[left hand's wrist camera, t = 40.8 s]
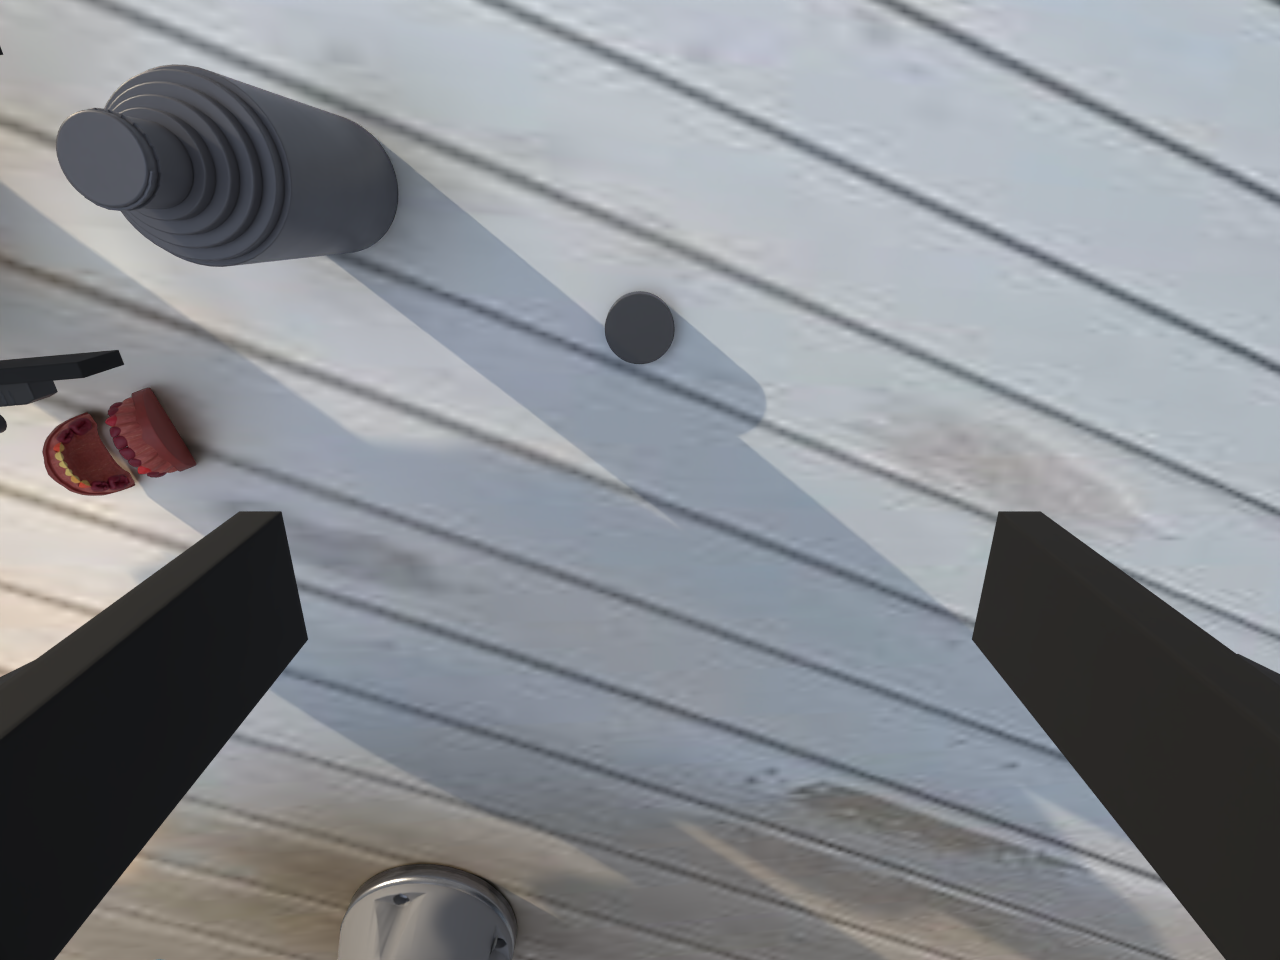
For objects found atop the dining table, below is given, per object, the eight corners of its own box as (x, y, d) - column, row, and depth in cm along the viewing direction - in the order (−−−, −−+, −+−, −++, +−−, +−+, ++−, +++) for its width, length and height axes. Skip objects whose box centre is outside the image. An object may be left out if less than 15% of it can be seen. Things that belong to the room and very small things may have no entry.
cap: (686, 333, 42) (687, 337, 41) (632, 372, 43) (631, 377, 42) (647, 277, 41) (647, 279, 40) (592, 318, 42) (591, 321, 41)
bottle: (259, 225, 40) (-21, 229, 23) (281, 92, 38) (-15, -14, 21) (382, 271, 41) (201, 307, 24) (411, 144, 39) (231, 84, 22)
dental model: (6, 440, 40) (122, 398, 40) (60, 419, 44) (167, 380, 43) (66, 520, 42) (177, 481, 42) (113, 492, 46) (215, 457, 45)
